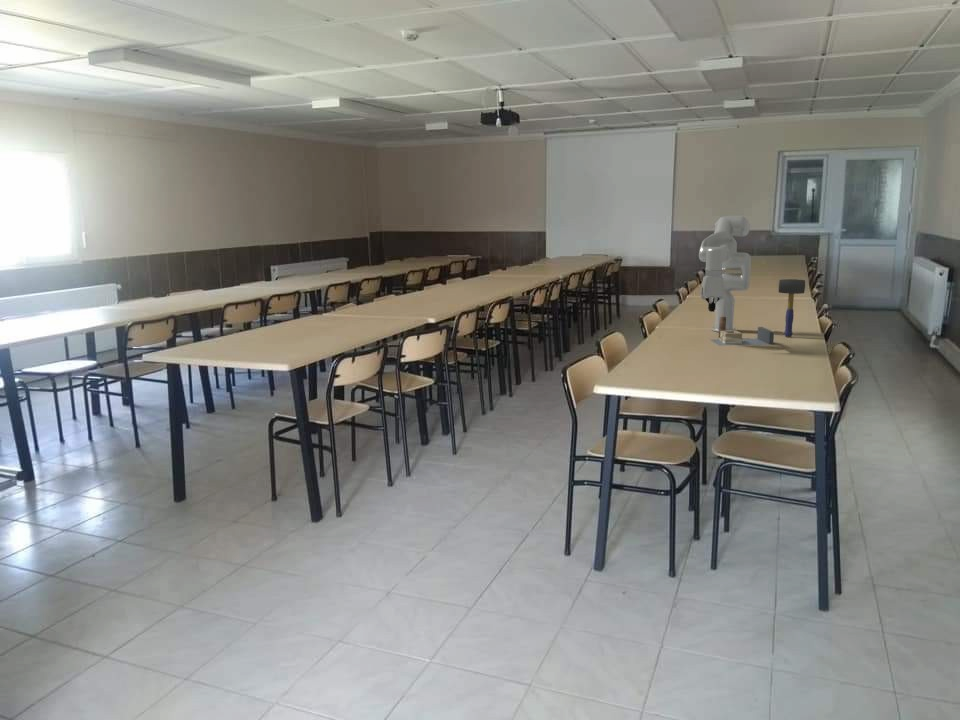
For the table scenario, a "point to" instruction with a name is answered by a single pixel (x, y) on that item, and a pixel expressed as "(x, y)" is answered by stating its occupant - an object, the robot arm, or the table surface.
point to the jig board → (762, 339)
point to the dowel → (722, 324)
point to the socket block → (731, 337)
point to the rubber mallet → (790, 299)
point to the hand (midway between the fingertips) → (711, 311)
